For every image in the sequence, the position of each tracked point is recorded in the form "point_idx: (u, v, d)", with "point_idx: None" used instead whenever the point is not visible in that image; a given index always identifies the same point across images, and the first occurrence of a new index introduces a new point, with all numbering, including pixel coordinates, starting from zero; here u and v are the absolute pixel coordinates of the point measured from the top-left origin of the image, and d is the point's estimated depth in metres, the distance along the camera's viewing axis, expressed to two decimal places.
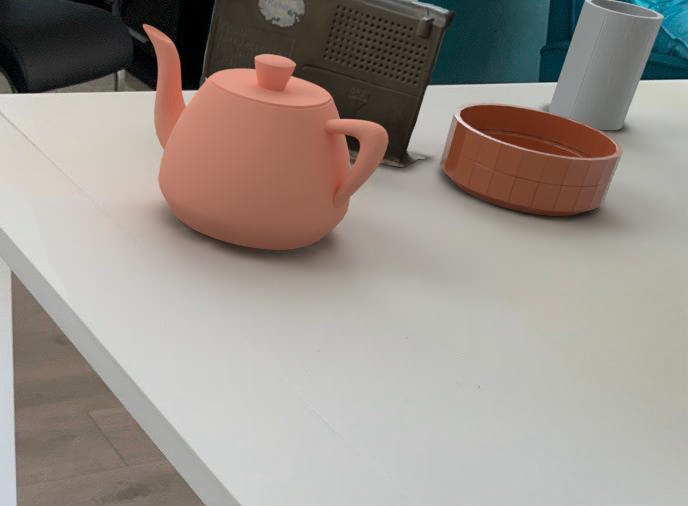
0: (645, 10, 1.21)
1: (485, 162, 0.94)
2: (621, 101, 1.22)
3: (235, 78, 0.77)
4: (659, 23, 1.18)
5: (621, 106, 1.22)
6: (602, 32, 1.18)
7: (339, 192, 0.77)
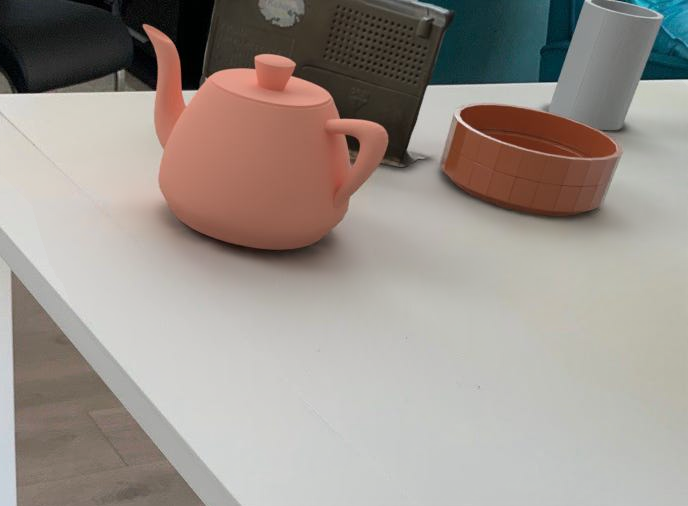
0: (645, 10, 1.21)
1: (485, 162, 0.94)
2: (621, 101, 1.22)
3: (235, 78, 0.77)
4: (659, 23, 1.18)
5: (621, 106, 1.22)
6: (602, 32, 1.18)
7: (339, 192, 0.77)
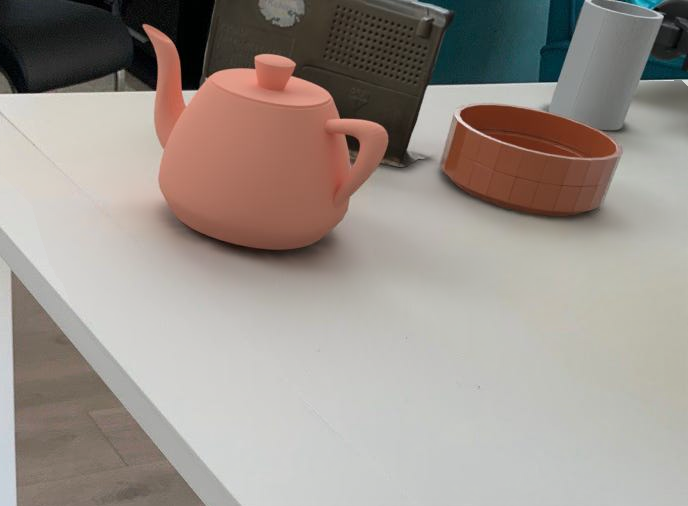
0: (645, 10, 1.21)
1: (485, 162, 0.94)
2: (621, 101, 1.22)
3: (235, 78, 0.77)
4: (659, 23, 1.18)
5: (621, 106, 1.22)
6: (602, 32, 1.18)
7: (339, 192, 0.77)
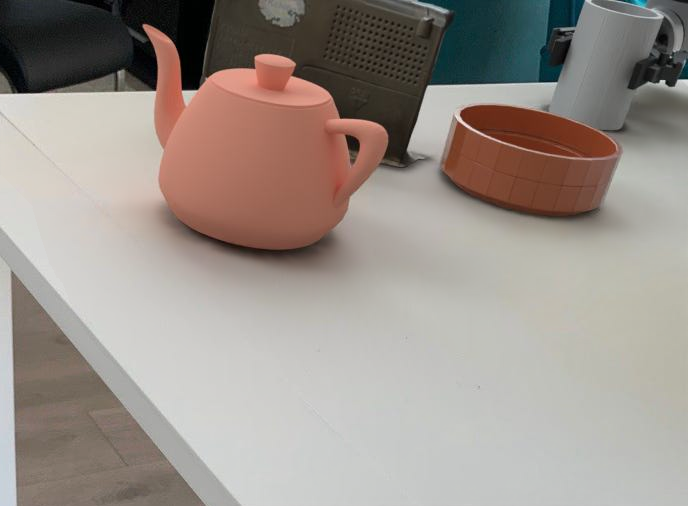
0: (645, 10, 1.21)
1: (485, 162, 0.94)
2: (622, 101, 1.22)
3: (235, 78, 0.77)
4: (659, 23, 1.18)
5: (621, 106, 1.22)
6: (602, 32, 1.18)
7: (339, 192, 0.77)
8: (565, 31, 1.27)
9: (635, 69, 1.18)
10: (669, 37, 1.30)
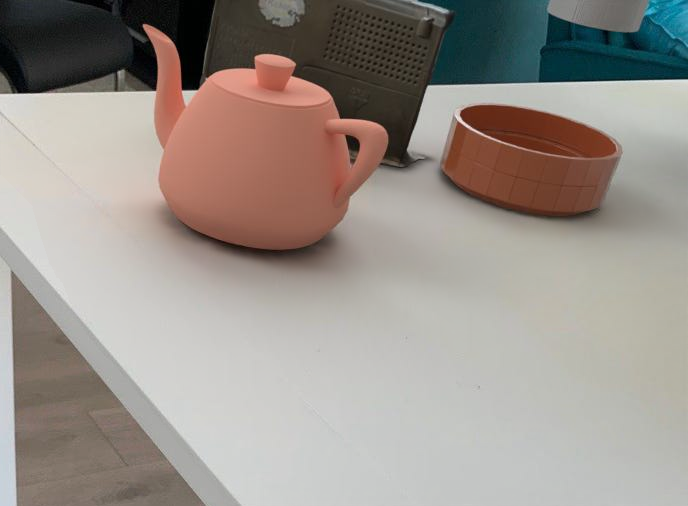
0: None
1: (485, 162, 0.94)
2: None
3: (235, 78, 0.77)
4: None
5: (638, 0, 0.97)
6: None
7: (339, 192, 0.77)
8: None
9: None
10: None
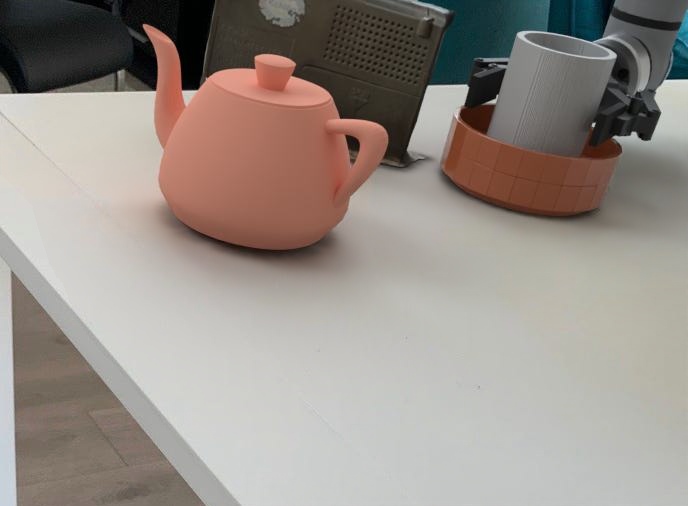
0: (594, 47, 0.95)
1: (485, 162, 0.94)
2: None
3: (235, 78, 0.77)
4: (611, 65, 0.92)
5: None
6: (537, 76, 0.91)
7: (339, 192, 0.77)
8: (490, 62, 1.01)
9: (598, 121, 0.91)
10: (630, 72, 1.04)
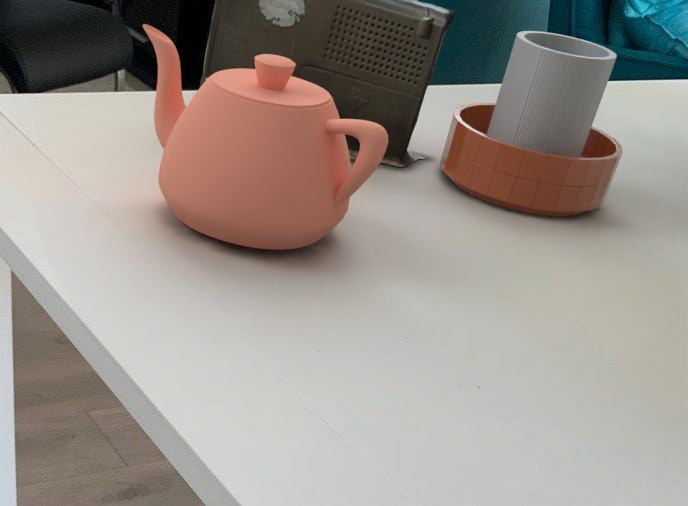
0: (594, 47, 0.95)
1: (485, 162, 0.94)
2: None
3: (235, 78, 0.77)
4: (611, 65, 0.92)
5: None
6: (537, 76, 0.91)
7: (339, 192, 0.77)
8: None
9: None
10: None
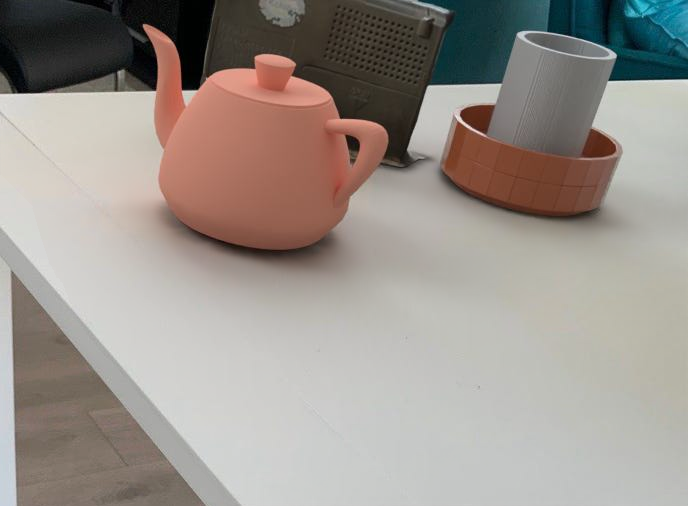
0: (594, 47, 0.95)
1: (485, 162, 0.94)
2: None
3: (235, 78, 0.77)
4: (611, 65, 0.92)
5: None
6: (537, 76, 0.91)
7: (339, 192, 0.77)
8: None
9: None
10: None
